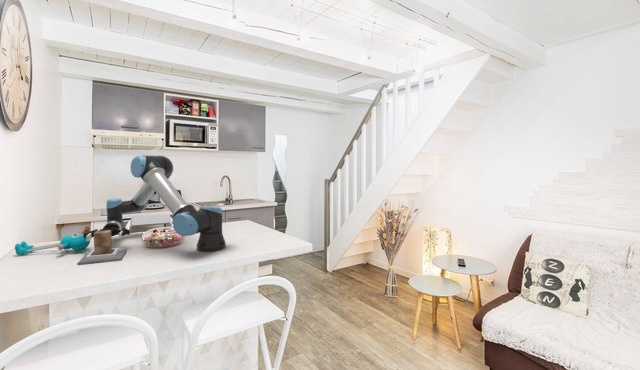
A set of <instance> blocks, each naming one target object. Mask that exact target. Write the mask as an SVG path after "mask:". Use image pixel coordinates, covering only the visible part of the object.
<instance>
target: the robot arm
mask: <svg viewBox="0 0 640 370" xmlns="http://www.w3.org/2000/svg"><path fill="white" fill-rule="evenodd" d="M130 172H131V175H132V176H133V177H134V178H137V179H138V178H140V179H141V180H142V181H143V182H144V183H143V184H142V186H141V187H140V189H138V191H137V192H136V194H134V195H133V197H132V199H129V200H122V198H110V199H107V200H106V224H105V225H104V226H103V227H102V228H101V229H99V230H98V228H95V229H94V230H90V231H87V232H84V233H83V232H82V233H83V238H86V240H87V241H89V240H90V241H91V240H92V239H93V238H94V233H95V232H96V231H105V230H111V238H112V237H115V236H116V235H118V236H119V238H118V239H119V240H121V239H122V238H123V237H125V236H126V235H127V236H129V235H131V229H128V228H125V227H124V225H125V224H124V220H123V215H125V214H129V213H138V212H139V213H140V212H142V211H145V210H146V208H147V202H148V201H149V199H151V197H152V196H153V195H154V193H155V192H156V194H157V195H158V197H159V198H160V199H161V201H162V202H163V203H164V205H165V206H166V207H167V208H168V210H169V211H170V212H171V214H172V217H171V219H172V222H171V224H172V228H173V230H174V232H175V233H177V235H180V236H183V237H187V236H188V237H189V236H193V235H196V234H199V236H198V240H197V243H196V250H197V251H200V252H216V251H220V250H224V249H225V248H226V246H227V245H226V240H225V237H224V234H223V210H222V208H221V207H220V206H210V205H209V206H208V205H207V206H206V205H205V206H202V205H201V206H200V207H199V209H196V207H194V205H193V204H191V203H190V204H188V202H187V201H186V200H185V199H184V197H183V196H182V195H181V193H179V191H178V190H177V189H176V187H175V186H174V185H173V184H172V182H171V181H170V180H169V179H170V177H171V176H172V175H173V172H174V165H173V162H172V161H171V160H170V158H168V157H166V156H164V155H145V154H142V155H136V156H134V158H132V160H131V162H130Z"/></svg>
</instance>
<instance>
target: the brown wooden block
mask: <svg viewBox="0 0 640 370" xmlns="http://www.w3.org/2000/svg"><path fill="white" fill-rule="evenodd" d="M93 247H94V248H93V250H94V255H103V254H112V248H113V243H112V237H111V230H105V231H99V230H98V231H96V232H95V233H94V237H93Z"/></svg>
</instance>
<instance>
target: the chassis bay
mask: <svg viewBox="0 0 640 370" xmlns="http://www.w3.org/2000/svg"><path fill="white" fill-rule="evenodd" d="M126 253H127V250H126V249H123V250H120V247H112V254H103V255H94V249H91V251H89V252H88V253H86V254H84V255H83V257H81V259H80V260H78V261H77V266H82V265H91V264H100V263H110V262H111V263H112V262H118V261H120V262H121V261H122V260H123V258H124V257H125V255H126Z"/></svg>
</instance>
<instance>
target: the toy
mask: <svg viewBox="0 0 640 370" xmlns="http://www.w3.org/2000/svg"><path fill="white" fill-rule="evenodd" d="M90 243H91V239H90V240H89V241H87V240H86V238H83V232H77V233H75V234H73V235H66V236H63V237H62V238H61V240H60V242H56V243H51V244H44V245H39V246H35V245H31V244H30V245H29V244H28V243H27V242H26V241H21V243H16V244H15V246H14V250H15V253H16V255H17V256H18V255H22V256H24V255H29V253H31V252H35V251H42V250H47V249H51V248H52V249H53V248H57V250H58V251H63V250H65V251H66V250H73V251H75V252H83V251H85V250H86V249H87V248H88V247H89V245H90Z"/></svg>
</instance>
